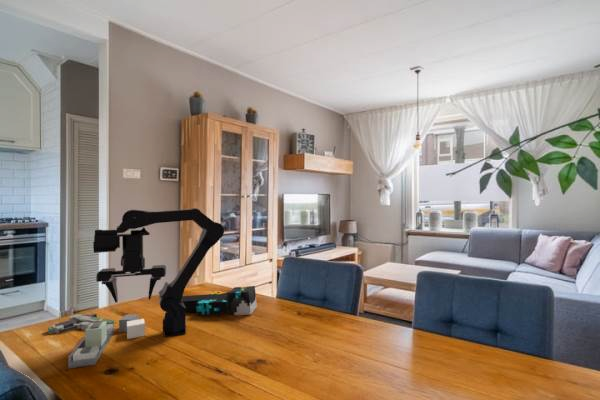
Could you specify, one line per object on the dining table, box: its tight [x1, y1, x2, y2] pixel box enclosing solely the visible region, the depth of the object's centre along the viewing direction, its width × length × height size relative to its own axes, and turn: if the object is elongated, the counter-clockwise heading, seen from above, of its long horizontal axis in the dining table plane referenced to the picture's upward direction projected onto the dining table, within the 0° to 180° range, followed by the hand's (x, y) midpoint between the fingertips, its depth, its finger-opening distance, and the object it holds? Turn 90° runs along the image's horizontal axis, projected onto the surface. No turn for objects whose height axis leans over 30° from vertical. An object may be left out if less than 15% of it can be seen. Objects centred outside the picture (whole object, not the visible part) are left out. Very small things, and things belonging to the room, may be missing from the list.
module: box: [84, 321, 107, 347], centre depth 96 cm, size 4×6×5 cm, turn 18°
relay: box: [126, 318, 146, 340], centre depth 105 cm, size 5×5×4 cm
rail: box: [67, 324, 115, 369], centre depth 96 cm, size 6×22×3 cm, turn 18°
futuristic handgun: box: [47, 313, 115, 335], centre depth 111 cm, size 3×19×15 cm
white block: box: [118, 313, 139, 333], centre depth 110 cm, size 4×5×4 cm
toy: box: [181, 285, 258, 316], centre depth 128 cm, size 15×8×30 cm
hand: (133, 300), depth 101 cm, fingers open, 9 cm apart
